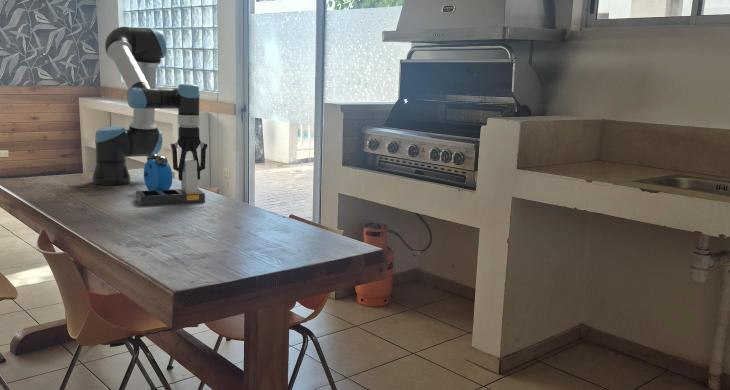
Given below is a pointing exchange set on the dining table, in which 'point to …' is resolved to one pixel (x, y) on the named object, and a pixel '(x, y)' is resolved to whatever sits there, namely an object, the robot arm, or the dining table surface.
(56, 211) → the dining table surface
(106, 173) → the robot arm
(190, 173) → the pale grey rectangular block
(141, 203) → the rack
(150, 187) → the alarm clock
